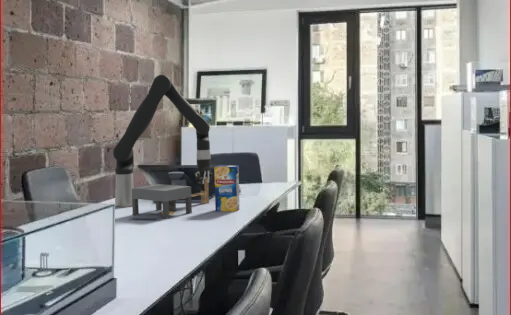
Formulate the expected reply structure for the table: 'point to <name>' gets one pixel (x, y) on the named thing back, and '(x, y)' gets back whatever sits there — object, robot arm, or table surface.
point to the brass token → (169, 212)
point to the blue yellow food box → (227, 188)
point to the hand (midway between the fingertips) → (204, 190)
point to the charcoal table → (161, 197)
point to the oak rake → (203, 194)
